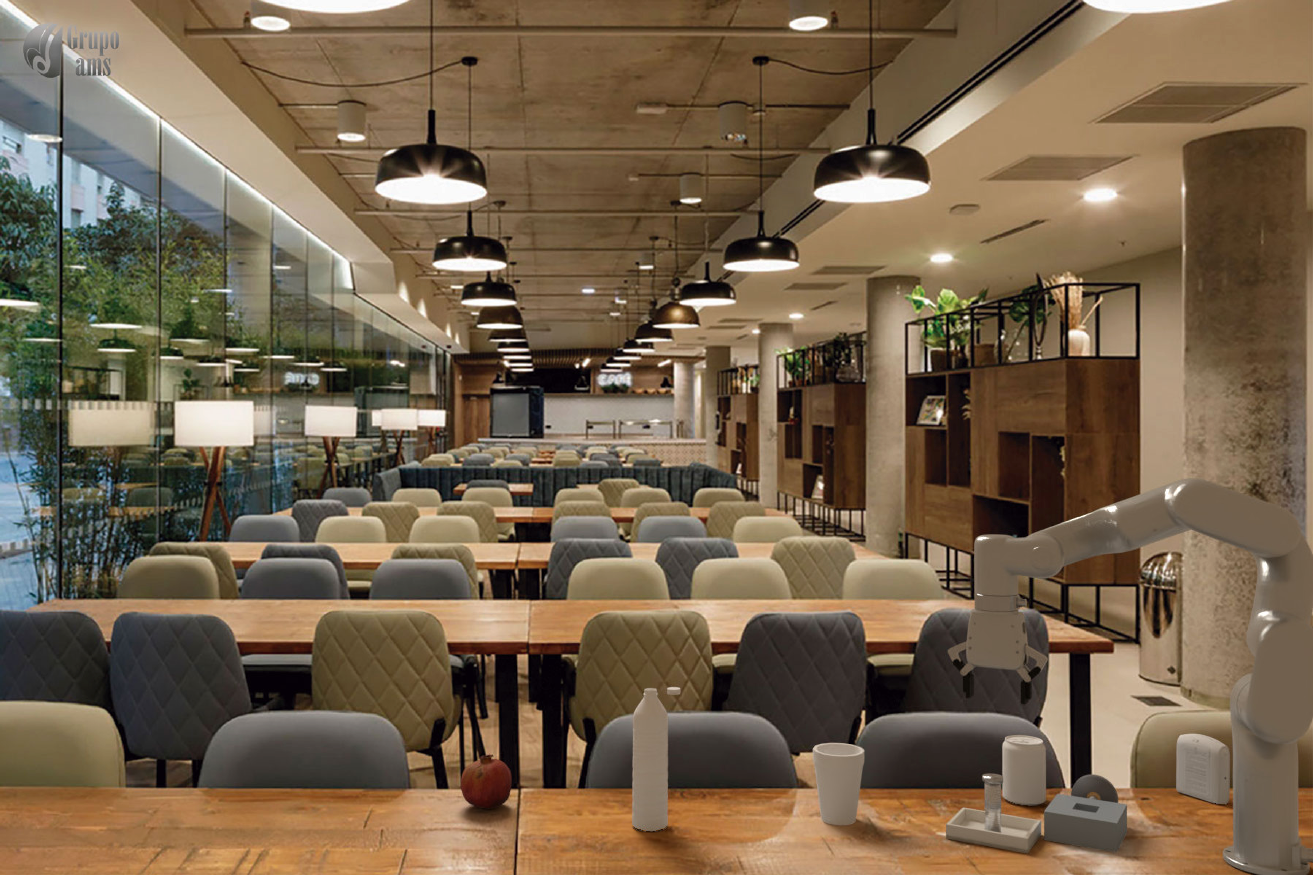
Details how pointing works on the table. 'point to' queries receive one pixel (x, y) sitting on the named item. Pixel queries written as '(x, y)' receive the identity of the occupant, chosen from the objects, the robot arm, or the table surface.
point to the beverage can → (1024, 770)
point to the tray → (1012, 837)
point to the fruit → (486, 783)
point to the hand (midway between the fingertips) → (996, 699)
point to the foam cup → (838, 781)
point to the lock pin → (992, 801)
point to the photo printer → (1203, 768)
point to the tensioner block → (1087, 816)
